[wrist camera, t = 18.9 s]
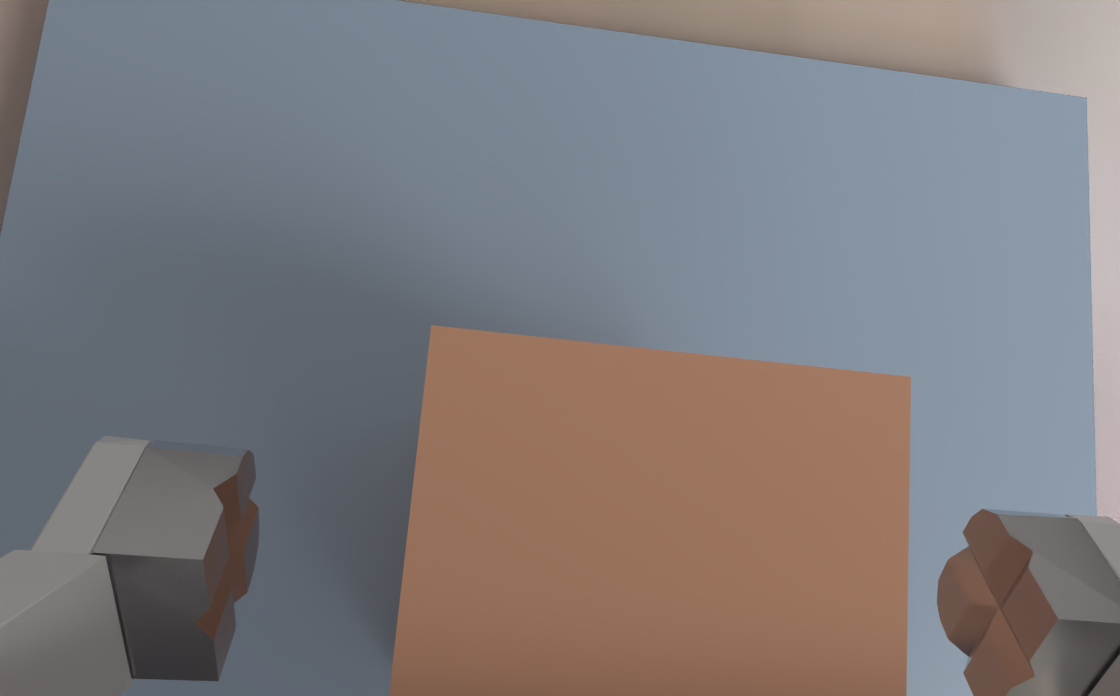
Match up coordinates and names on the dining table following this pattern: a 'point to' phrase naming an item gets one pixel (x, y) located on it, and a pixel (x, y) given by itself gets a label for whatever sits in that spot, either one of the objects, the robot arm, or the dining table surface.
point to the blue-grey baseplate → (511, 269)
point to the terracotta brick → (652, 525)
